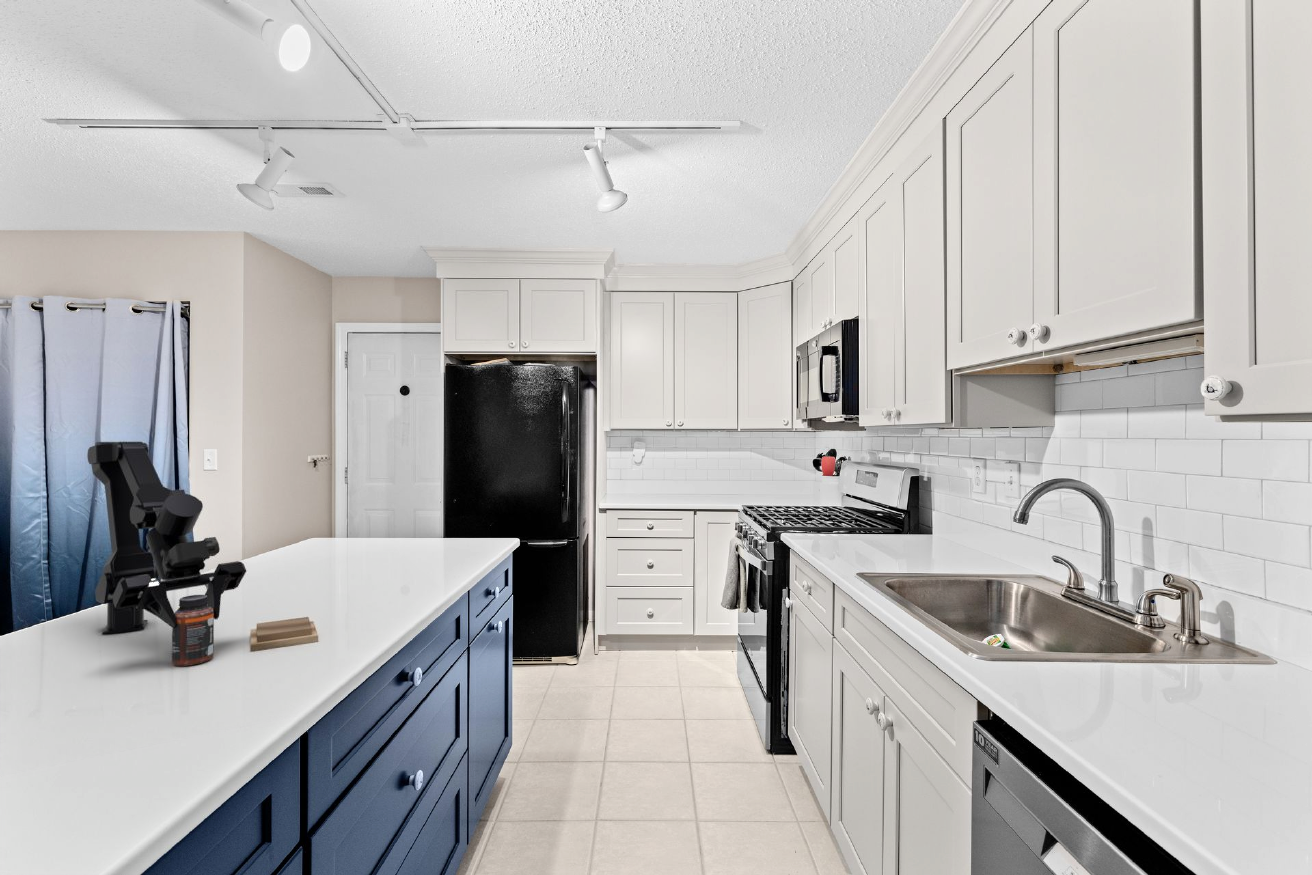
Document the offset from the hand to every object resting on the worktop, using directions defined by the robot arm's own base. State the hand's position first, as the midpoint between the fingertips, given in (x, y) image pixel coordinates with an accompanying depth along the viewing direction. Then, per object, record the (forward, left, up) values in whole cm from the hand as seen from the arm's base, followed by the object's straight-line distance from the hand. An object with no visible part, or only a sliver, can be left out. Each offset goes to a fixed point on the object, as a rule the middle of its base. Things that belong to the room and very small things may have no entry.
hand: (196, 622), depth 109 cm
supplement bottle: (-1, -1, -7) cm, 7 cm away
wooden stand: (-7, +13, -7) cm, 17 cm away
